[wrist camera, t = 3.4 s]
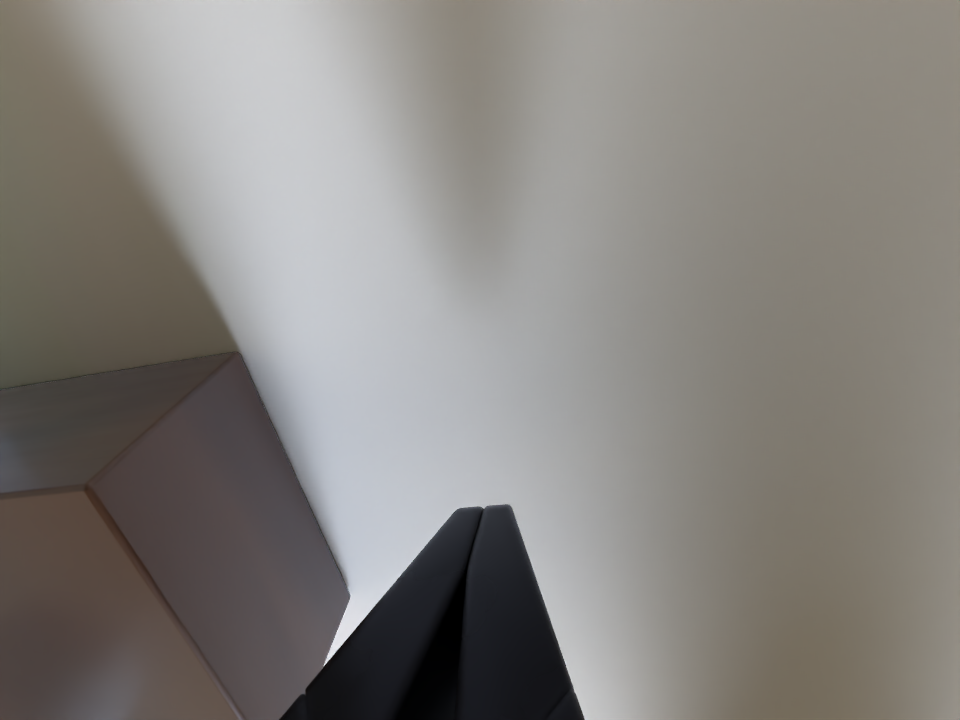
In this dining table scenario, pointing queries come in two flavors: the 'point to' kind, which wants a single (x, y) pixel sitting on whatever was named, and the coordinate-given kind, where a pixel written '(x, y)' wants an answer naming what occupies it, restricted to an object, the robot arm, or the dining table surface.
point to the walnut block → (156, 551)
